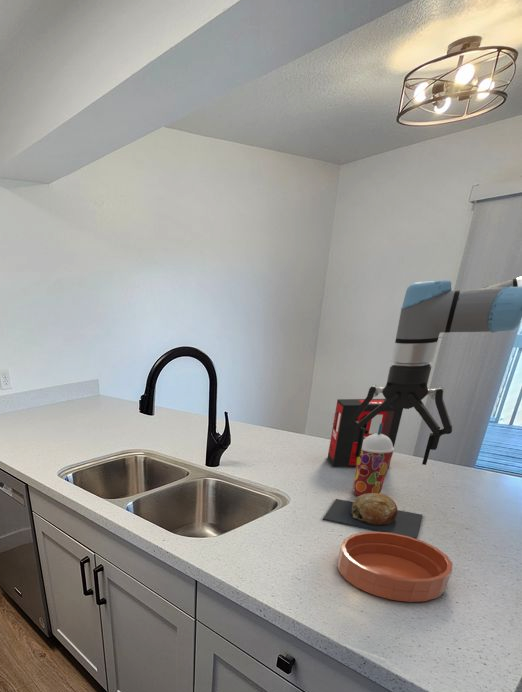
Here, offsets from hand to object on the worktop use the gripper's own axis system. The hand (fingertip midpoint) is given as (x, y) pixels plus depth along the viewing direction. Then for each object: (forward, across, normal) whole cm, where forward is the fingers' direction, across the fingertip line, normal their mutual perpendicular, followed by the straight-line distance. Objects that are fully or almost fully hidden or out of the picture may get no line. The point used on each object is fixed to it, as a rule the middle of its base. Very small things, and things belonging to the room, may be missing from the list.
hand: (389, 459), depth 102 cm
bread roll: (+15, +1, 0) cm, 15 cm away
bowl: (+16, -6, +26) cm, 31 cm away
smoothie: (+16, +5, -15) cm, 22 cm away
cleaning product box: (+16, +12, -41) cm, 45 cm away
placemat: (+16, +1, 0) cm, 16 cm away
